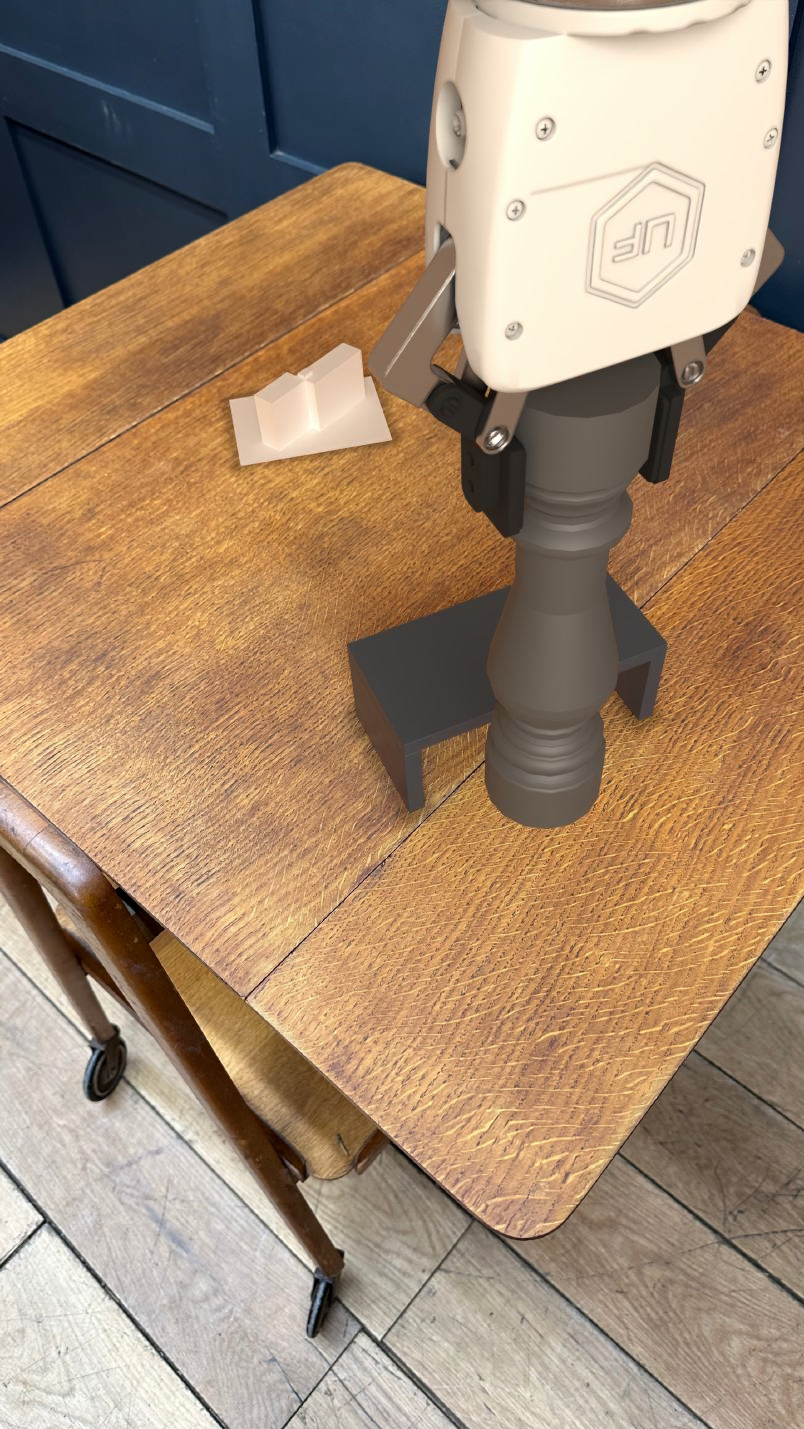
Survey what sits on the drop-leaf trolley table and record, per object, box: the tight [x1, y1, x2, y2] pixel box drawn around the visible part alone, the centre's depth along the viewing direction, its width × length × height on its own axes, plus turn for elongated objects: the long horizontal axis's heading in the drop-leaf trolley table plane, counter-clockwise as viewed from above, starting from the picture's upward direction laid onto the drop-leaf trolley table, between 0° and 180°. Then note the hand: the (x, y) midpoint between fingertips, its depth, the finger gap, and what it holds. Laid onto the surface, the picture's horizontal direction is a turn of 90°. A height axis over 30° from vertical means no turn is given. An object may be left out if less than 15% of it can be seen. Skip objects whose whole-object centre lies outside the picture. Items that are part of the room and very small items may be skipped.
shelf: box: [346, 570, 669, 814], centre depth 75 cm, size 20×10×8 cm, turn 114°
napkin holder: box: [228, 342, 393, 467], centre depth 100 cm, size 15×11×6 cm
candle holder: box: [483, 352, 661, 830], centre depth 46 cm, size 6×6×25 cm
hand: (568, 484), depth 40 cm, fingers closed on candle holder, 5 cm apart
